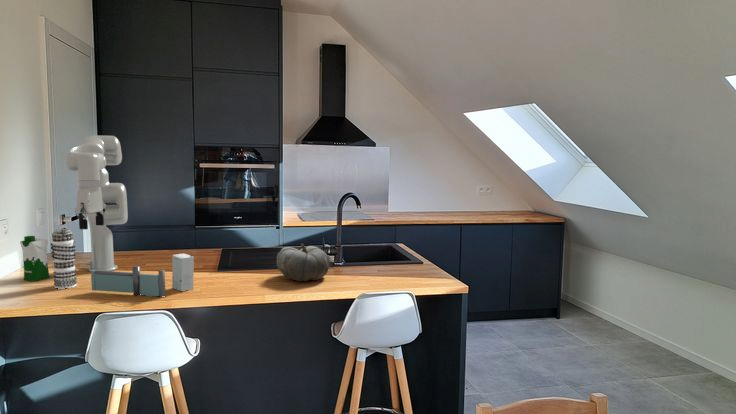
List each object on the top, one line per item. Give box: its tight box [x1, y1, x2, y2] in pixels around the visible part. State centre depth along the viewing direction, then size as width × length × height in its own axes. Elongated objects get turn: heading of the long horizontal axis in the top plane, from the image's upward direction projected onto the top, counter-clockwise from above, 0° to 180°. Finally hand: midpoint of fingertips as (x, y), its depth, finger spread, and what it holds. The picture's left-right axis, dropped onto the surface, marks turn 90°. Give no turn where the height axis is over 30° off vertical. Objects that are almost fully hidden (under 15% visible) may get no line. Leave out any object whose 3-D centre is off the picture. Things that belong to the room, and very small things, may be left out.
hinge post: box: [131, 265, 141, 296], centre depth 210 cm, size 3×3×12 cm
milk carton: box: [19, 235, 51, 282], centre depth 231 cm, size 9×9×20 cm
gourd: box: [276, 243, 331, 282], centre depth 240 cm, size 25×25×17 cm
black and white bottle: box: [49, 228, 78, 290], centre depth 220 cm, size 9×9×25 cm
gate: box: [90, 270, 133, 294], centre depth 212 cm, size 18×2×8 cm, turn 81°
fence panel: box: [140, 269, 166, 298], centre depth 209 cm, size 11×2×11 cm, turn 81°
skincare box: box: [171, 252, 195, 292], centre depth 220 cm, size 8×6×15 cm
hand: (92, 227), depth 204 cm, fingers open, 9 cm apart
